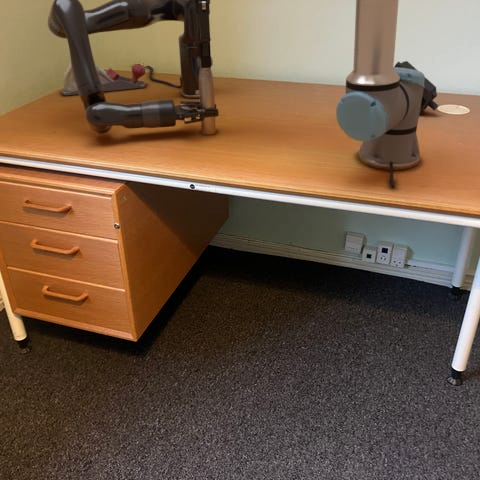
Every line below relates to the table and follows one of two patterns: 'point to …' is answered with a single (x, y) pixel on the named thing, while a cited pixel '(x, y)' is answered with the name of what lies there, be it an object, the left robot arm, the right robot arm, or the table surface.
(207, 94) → the bottle
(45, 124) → the table surface
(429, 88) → the tool
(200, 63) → the cap
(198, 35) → the right robot arm
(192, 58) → the left robot arm
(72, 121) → the table surface
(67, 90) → the hand plane
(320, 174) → the table surface
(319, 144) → the table surface
